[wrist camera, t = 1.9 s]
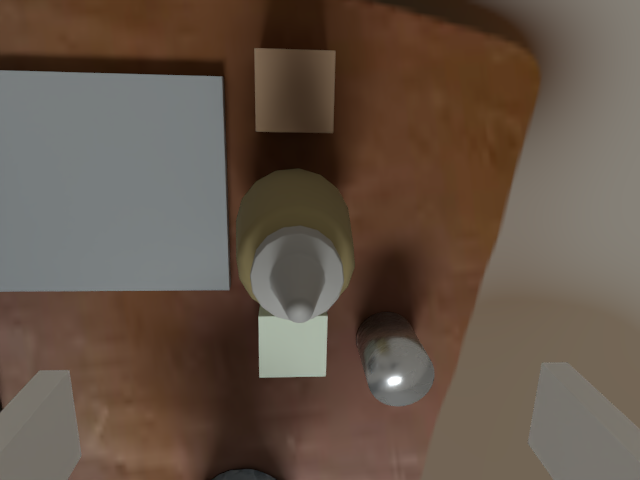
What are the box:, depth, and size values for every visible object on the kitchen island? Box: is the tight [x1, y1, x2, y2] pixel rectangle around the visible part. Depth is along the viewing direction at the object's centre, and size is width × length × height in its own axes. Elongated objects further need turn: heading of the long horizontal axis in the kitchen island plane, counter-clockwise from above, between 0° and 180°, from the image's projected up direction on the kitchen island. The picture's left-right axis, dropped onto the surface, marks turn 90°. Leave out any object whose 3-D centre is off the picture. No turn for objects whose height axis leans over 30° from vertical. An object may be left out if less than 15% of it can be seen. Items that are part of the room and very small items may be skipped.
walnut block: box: [254, 48, 336, 133], centre depth 32 cm, size 5×5×5 cm
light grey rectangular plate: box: [0, 70, 231, 292], centre depth 34 cm, size 18×16×1 cm
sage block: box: [258, 305, 328, 378], centre depth 37 cm, size 5×5×5 cm
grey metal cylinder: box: [356, 312, 434, 406], centre depth 37 cm, size 5×5×6 cm
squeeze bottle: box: [236, 168, 355, 323], centre depth 28 cm, size 8×8×18 cm
